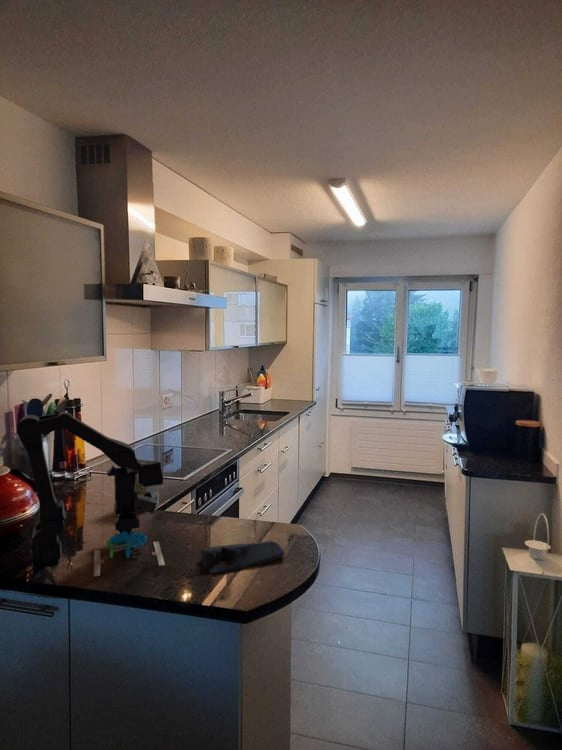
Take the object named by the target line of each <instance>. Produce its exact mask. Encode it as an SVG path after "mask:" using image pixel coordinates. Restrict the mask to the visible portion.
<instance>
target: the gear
mask: <svg viewBox="0 0 562 750" xmlns="http://www.w3.org/2000/svg"><path fill="white" fill-rule="evenodd" d="M143 533H144V532H142V531H139V532H137V534H136V531H135V530H132V531H130V534H128V533H127V532H126V531H123V532H121V534H120V533H118V532H117V533H114V534H113V536H110V540H106V541H105V547H108V550H109V551H110V554H109V559H114V551H116V550H117V551H118V550H122V549H123V550H124V549H125V550H126V551H125V558H126V559H130V558H131V549H136V548H137V546H138V547H143V544H147V539H148V535H146V534H143Z"/></svg>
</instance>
